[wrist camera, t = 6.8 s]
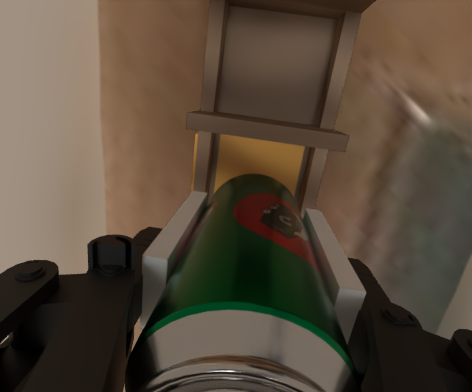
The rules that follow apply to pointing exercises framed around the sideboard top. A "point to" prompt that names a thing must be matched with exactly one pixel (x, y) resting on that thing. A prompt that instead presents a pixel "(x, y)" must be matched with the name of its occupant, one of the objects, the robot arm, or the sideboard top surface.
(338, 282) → the robot arm
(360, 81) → the sideboard top surface
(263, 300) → the soda can
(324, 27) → the slot rack
